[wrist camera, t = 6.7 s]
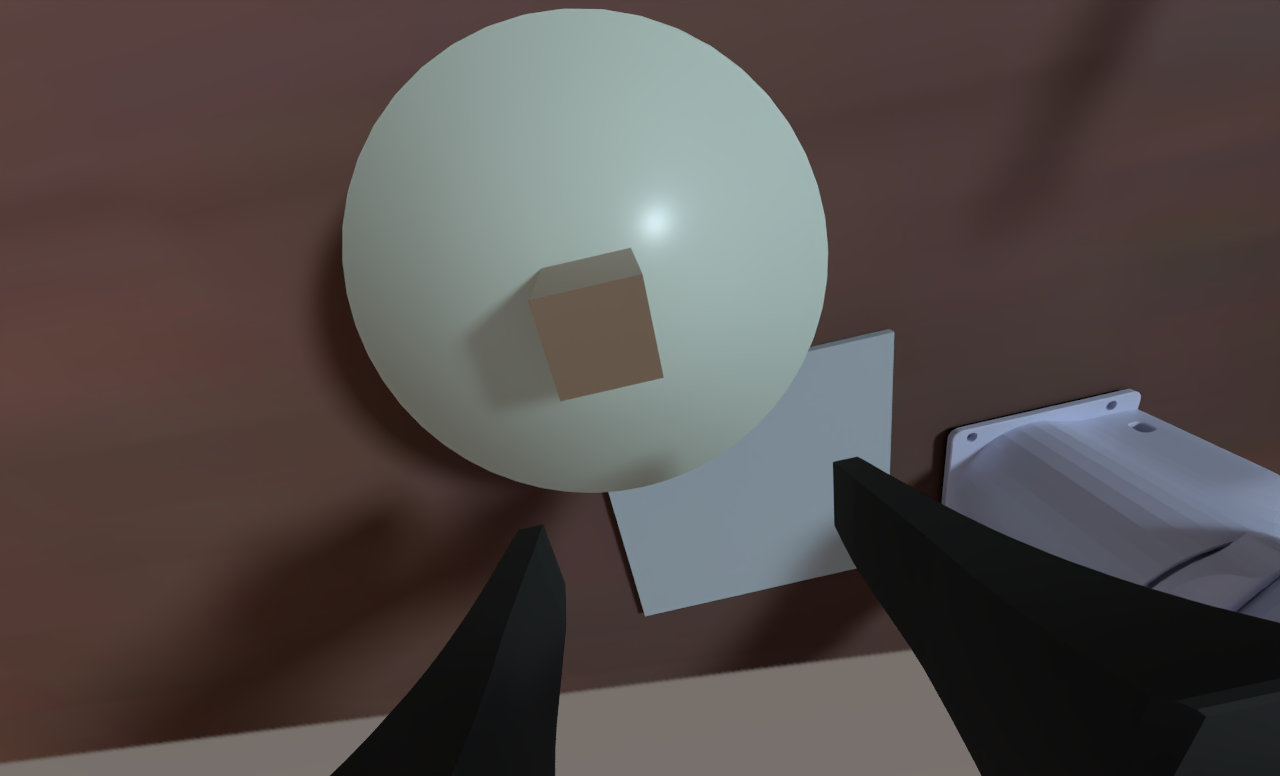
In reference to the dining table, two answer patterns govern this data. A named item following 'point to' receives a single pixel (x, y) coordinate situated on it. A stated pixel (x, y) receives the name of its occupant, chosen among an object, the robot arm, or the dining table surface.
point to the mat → (765, 488)
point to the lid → (584, 250)
